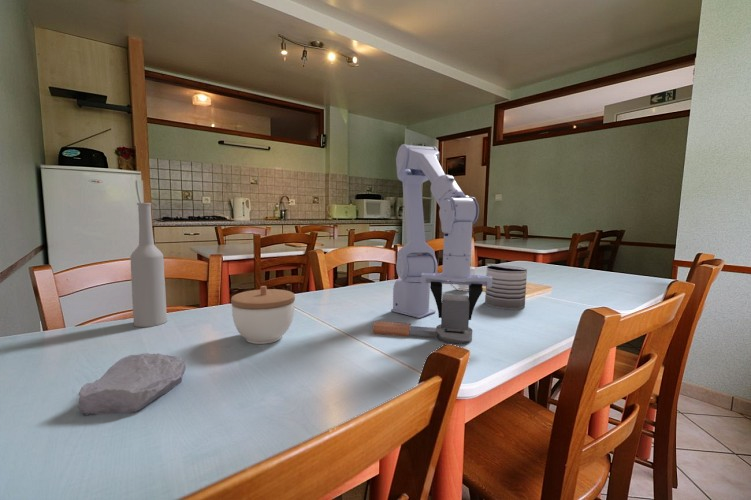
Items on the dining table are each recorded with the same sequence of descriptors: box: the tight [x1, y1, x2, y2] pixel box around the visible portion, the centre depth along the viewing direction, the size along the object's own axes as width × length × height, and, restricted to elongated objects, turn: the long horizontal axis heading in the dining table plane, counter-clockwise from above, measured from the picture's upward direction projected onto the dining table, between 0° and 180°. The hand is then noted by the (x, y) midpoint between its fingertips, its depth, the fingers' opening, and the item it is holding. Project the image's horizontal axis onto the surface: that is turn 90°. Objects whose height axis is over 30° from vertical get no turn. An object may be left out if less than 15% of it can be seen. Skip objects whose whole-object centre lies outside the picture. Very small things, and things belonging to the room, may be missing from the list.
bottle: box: [129, 202, 168, 328], centre depth 81 cm, size 7×7×28 cm
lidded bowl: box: [230, 285, 296, 345], centre depth 73 cm, size 13×13×11 cm
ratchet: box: [372, 320, 473, 345], centre depth 76 cm, size 21×8×4 cm, turn 78°
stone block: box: [77, 352, 187, 416], centre depth 51 cm, size 12×5×10 cm
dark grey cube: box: [440, 293, 470, 330], centre depth 75 cm, size 6×6×6 cm
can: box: [484, 263, 528, 310], centre depth 104 cm, size 11×11×12 cm
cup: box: [449, 265, 477, 292], centre depth 123 cm, size 7×10×8 cm
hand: (454, 317), depth 75 cm, fingers closed on dark grey cube, 5 cm apart
